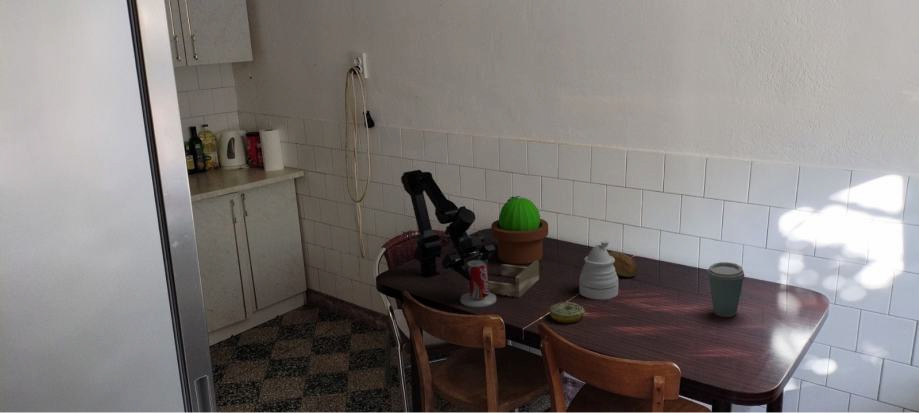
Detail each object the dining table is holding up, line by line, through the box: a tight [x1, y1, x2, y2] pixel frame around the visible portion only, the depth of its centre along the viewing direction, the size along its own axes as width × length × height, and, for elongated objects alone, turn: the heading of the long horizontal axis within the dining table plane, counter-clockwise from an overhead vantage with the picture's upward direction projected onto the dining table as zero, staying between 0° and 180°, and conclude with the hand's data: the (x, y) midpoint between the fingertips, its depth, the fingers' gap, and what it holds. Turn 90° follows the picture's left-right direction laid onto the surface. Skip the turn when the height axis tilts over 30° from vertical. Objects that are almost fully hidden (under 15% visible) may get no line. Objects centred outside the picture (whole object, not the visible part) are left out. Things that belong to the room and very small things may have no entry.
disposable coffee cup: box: [706, 261, 745, 318], centre depth 211 cm, size 11×11×15 cm
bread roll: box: [608, 251, 638, 278], centre depth 249 cm, size 10×15×8 cm, turn 48°
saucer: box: [460, 292, 497, 308], centre depth 232 cm, size 12×12×1 cm
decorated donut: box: [548, 301, 586, 324], centre depth 215 cm, size 10×11×4 cm
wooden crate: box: [488, 260, 540, 298], centre depth 243 cm, size 14×18×7 cm
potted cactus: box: [490, 195, 549, 265], centre depth 269 cm, size 22×22×25 cm
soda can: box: [466, 259, 490, 299], centre depth 230 cm, size 7×7×12 cm
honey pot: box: [578, 240, 619, 300], centre depth 232 cm, size 13×13×18 cm
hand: (479, 278), depth 229 cm, fingers closed on soda can, 7 cm apart
